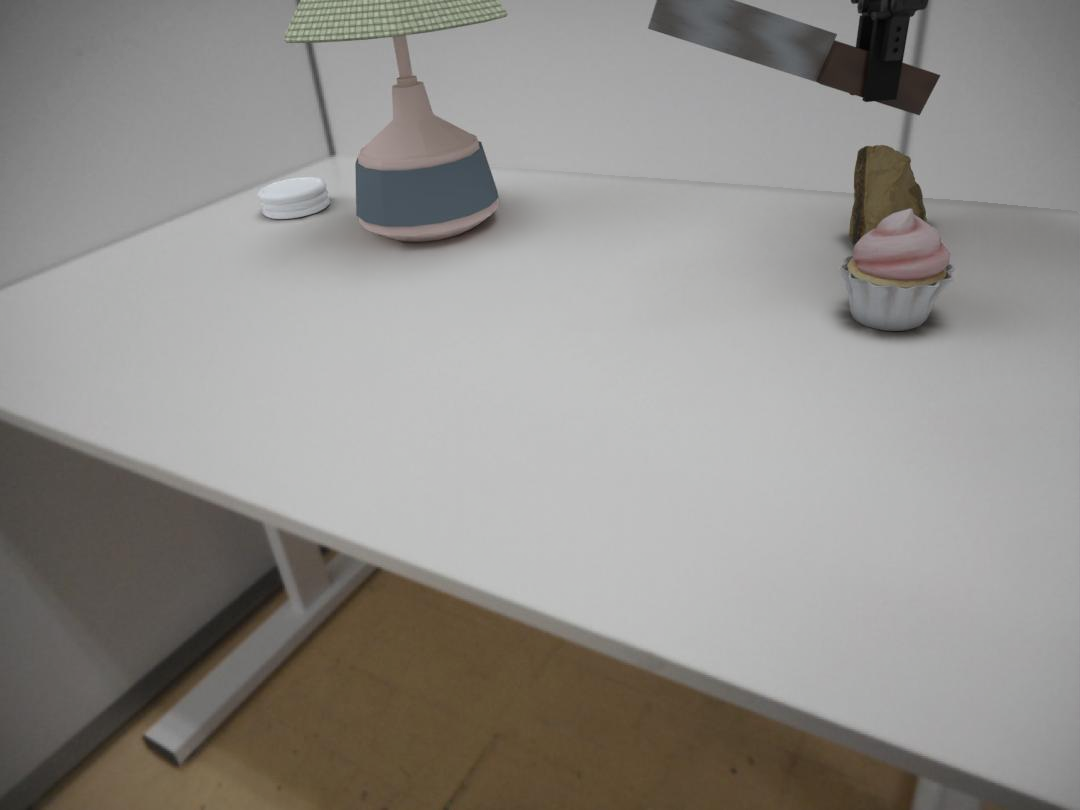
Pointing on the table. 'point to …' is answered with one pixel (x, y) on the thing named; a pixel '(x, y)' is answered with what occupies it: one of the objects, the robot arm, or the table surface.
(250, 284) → the table surface
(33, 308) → the table surface
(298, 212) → the white layered round disc
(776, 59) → the knife
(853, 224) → the rock
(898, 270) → the cupcake
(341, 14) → the desk lamp
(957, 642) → the table surface
